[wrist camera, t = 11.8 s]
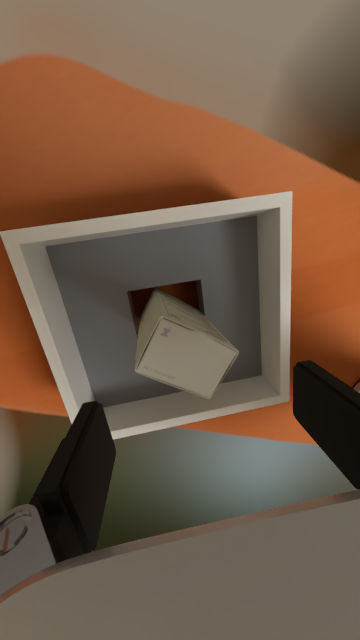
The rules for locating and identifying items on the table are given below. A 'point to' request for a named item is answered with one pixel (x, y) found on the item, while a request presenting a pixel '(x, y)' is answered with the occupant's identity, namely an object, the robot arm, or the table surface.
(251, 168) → the table surface
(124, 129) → the table surface
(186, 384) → the skincare box
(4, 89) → the table surface
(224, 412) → the bore box
